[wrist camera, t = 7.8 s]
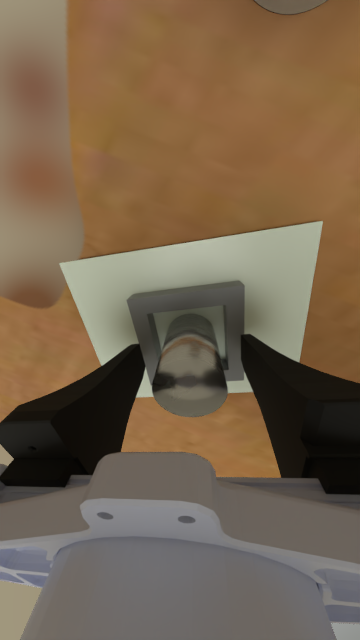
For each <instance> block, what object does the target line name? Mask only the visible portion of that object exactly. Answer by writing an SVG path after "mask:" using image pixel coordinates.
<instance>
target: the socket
mask: <svg viewBox="0 0 360 640" xmlns="http://www.w3.org/2000/svg"><path fill="white" fill-rule="evenodd" d="M322 224H323V221H319V222H312V223H306V224H300V225H294V226H287V227H281V228H275V229H269V230H262V231H256V232H250V233H244V234H238V235H231V236H225V237H219V238H213V239H206V240H200V241H194V242H188V243H182V244H175V245H169V246H163V247H157V248H150V249H144V250H138V251H132V252H125V253H119V254H113V255H107V256H101V257H94V258H88V259H82V260H76V261H69V262H64V263H59V264H60V267H61V269H62V272H63V274H64V276H65V279H66V281H67V284H68V286H69V288H70V291H71V293H72V296H73V298H74V301H75V303H76V305H77V308H78V310H79V313H80V315H81V317H82V320H83V322H84V325H85V327H86V329H87V332H88V334H89V337H90V339H91V342H92V344H93V346H94V349H95V351H96V354H97V356H98V358H99V361H100V363H101V366H102V365H104V364H105V363H106V362H108V361H109V360H111V359H112V358H113V357H115V356H116V355H117V354H119V353H120V352H121V351H123V350H124V349H125V348H127V347H128V346H129V345H131V344H140V348H141V351H142V355H143V358H144V362H145V365H146V367H145V372H144V376H143V379H142V382H141V385H140V388H139V390H138V393H137V395H136V397H154V396H153V393H152V382H153V379H154V375H155V372H156V368H157V365H158V361H159V358H160V355H161V351H162V348H163V344H164V341H165V338H166V334H167V331H168V327H169V325H170V324H171V322H172V321H173V320H174V319H175V318H177V317H178V316H180V315H183V314H189V313H192V314H198V315H201V316H203V317H205V318H206V319H208V320H209V321H210V323H211V324H212V326H213V328H214V331H215V335H216V340H217V344H218V348H219V353H220V357H221V361H222V365H223V370H224V374H225V378H226V383H227V387H228V393H240V392H253V390H252V388H251V386H250V383H249V381H248V379H247V377H246V374H245V372H244V369H243V365H242V362H241V335H242V334H251V335H253V336H254V337H256V338H257V339H259V340H260V341H262V342H263V343H265V344H266V345H268V346H269V347H271V348H272V349H274V350H276V351H277V352H279V353H281V354H283V355H285V356H286V357H288V358H290V359H292V360H295V361H297V362H299V361H300V355H301V349H302V343H303V337H304V331H305V325H306V319H307V313H308V307H309V302H310V296H311V290H312V284H313V278H314V272H315V266H316V260H317V254H318V248H319V242H320V236H321V230H322Z"/></svg>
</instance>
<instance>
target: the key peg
mask: <svg viewBox="0 0 360 640" xmlns="http://www.w3.org/2000/svg"><path fill="white" fill-rule="evenodd" d="M152 393H153V396H154V398H155V400H156V401H157V402H158V404H159V405H160V406H161V407H163V408H164V409H165V410H167V411H169V412H171V413H173V414H176V415H179V416H184V417H200V416H204V415H207V414H210V413H212V412H214V411H216V410H217V409H218V408H220V407H221V406H222V404H223V403H224V402H225V400H226V397H227V393H228V387H227V383H226V378H225V374H224V370H223V365H222V361H221V357H220V353H219V348H218V344H217V340H216V335H215V331H214V328H213V326H212V324H211V323H210V321H209V320H208V319H206V318H205V317H203V316H201V315H198V314H192V313H189V314H183V315H180V316H178V317H177V318H175V319H174V320H173V321H172V322H171V324H170V325H169V327H168V331H167V334H166V338H165V341H164V344H163V348H162V351H161V355H160V358H159V361H158V365H157V368H156V372H155V375H154V379H153V382H152Z"/></svg>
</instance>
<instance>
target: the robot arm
mask: <svg viewBox="0 0 360 640" xmlns="http://www.w3.org/2000/svg"><path fill="white" fill-rule="evenodd" d="M241 362H242V365H243V369H244V372H245V374H246V377H247V379H248V381H249V383H250V386H251V388H252V390H253V392H254V395H255V397H256V399H257V401H258V404H259V406H260V409H261V412H262V415H263V418H264V421H265V424H266V427H267V430H268V434H269V437H270V440H271V443H272V447H273V450H274V453H275V457H276V460H277V464H278V467H279V471H280V474H281V478H250V477H216V474H215V470H214V468H213V467H212V465H211V463H210V462H209V461H208V460H207V459H205V458H203V457H201V456H199V455H197V454H192V453H186V452H121V448H122V443H123V439H124V435H125V431H126V427H127V423H128V419H129V415H130V412H131V409H132V406H133V403H134V401H135V398H136V395H137V393H138V390H139V388H140V385H141V382H142V379H143V376H144V372H145V367H146V365H145V362H144V358H143V355H142V351H141V348H140V344H131V345H129V346H128V347H127V348H125V349H124V350H123V351H121V352H120V353H119V354H117V355H116V356H115V357H113V358H112V359H111V360H109V361H108V362H106V363H105V364H104V365H102V366H101V367H99V368H98V369H96V370H95V371H93V372H92V373H90V374H88V375H87V376H85V377H83V378H82V379H80V380H78V381H76V382H74V383H72V384H70V385H68V386H66V387H64V388H62V389H60V390H57V391H55V392H53V393H50V394H48V395H46V396H43V397H41V398H38V399H35V400H32V401H30V402H27V403H24V404H21V405H19V406H18V407H17V408H15V409H14V410H13V411H12V412H11V413H10V414H9V415H8V416H7V417H6V418H5V419H4V420H3V421H2V422H1V423H0V444H1V445H2V446H3V447H4V449H5V450H6V451H7V452H8V453H9V454H10V455H11V456H12V457H13V458H14V460H13V461H12V462H11V463H10V464H9V466H6V465H4V464H0V580H1V581H7V582H12V583H18V584H24V585H28V586H34V587H40V588H42V590H41V593H40V595H39V597H38V600H37V602H36V604H35V607H34V609H33V611H32V613H31V616H30V618H29V620H28V623H27V625H26V627H25V629H24V632H23V634H22V636H21V639H20V640H336V637H335V634H334V632H333V629H332V626H331V623H349V624H360V383H356V382H352V381H348V380H345V379H342V378H339V377H335V376H332V375H329V374H326V373H324V372H321V371H318V370H316V369H313V368H310V367H308V366H306V365H303V364H301V363H299V362H297V361H295V360H292V359H290V358H288V357H286V356H285V355H283V354H281V353H279V352H277V351H276V350H274V349H272V348H271V347H269V346H268V345H266V344H265V343H263V342H262V341H260V340H259V339H257V338H256V337H254V336H253V335H251V334H242V335H241Z"/></svg>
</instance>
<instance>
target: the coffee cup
mask: <svg viewBox="0 0 360 640" xmlns="http://www.w3.org/2000/svg"><path fill="white" fill-rule="evenodd" d="M254 1H255V2H257V3H258V4H259V5H261V6H262V7H263V8H265V9H267V10H269V11H272V12H275V13H279V14H297V13H302V12H305V11H308V10H311V9H313V8H315V7H317V6H319V5H321V4H322V3H324V2H326V1H327V0H254Z"/></svg>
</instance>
